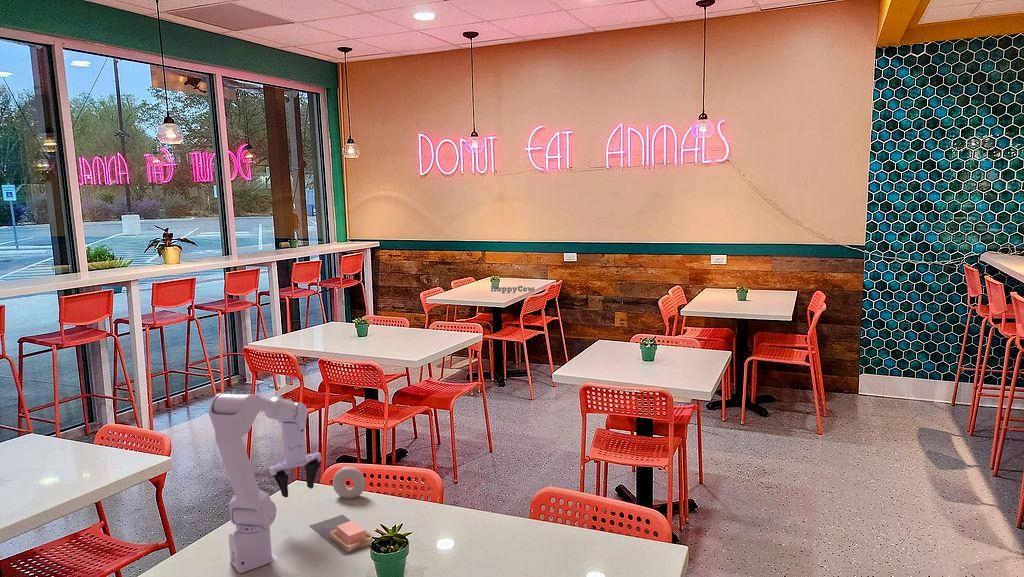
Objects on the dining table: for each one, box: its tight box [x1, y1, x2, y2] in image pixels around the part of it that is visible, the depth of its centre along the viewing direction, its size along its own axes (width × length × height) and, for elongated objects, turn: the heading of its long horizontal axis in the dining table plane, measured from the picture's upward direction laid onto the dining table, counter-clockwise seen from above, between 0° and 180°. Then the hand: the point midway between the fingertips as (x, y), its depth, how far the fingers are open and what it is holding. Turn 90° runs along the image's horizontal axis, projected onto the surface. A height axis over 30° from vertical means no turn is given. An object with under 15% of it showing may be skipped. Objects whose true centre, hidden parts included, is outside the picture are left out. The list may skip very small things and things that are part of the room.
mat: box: [309, 514, 371, 557], centre depth 181 cm, size 10×22×1 cm, turn 39°
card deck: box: [336, 520, 367, 545], centre depth 177 cm, size 8×5×3 cm, turn 39°
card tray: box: [329, 530, 376, 553], centre depth 177 cm, size 8×11×2 cm
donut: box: [332, 466, 366, 500], centre depth 204 cm, size 10×4×10 cm, turn 84°
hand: (297, 491), depth 188 cm, fingers open, 7 cm apart
